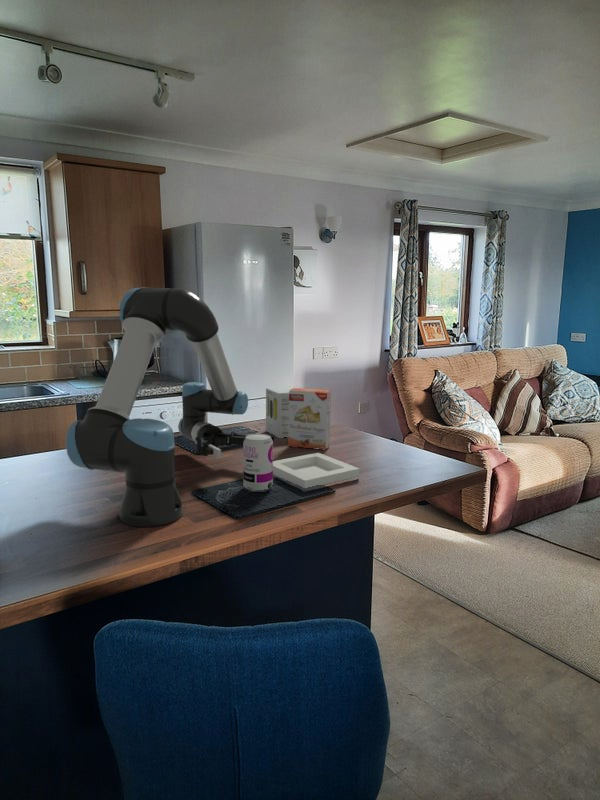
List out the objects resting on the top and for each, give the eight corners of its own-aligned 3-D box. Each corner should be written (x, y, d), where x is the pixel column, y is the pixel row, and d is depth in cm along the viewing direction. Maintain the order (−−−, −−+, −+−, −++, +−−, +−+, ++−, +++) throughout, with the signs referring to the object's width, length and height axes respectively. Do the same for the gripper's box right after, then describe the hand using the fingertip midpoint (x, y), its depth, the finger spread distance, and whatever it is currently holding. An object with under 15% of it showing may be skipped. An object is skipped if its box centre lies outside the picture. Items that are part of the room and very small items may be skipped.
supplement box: (264, 431, 226) (265, 387, 223) (294, 427, 232) (295, 385, 229) (279, 438, 214) (279, 393, 211) (309, 435, 220) (310, 390, 217)
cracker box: (287, 447, 203) (288, 389, 199) (292, 443, 208) (293, 387, 204) (325, 451, 199) (327, 392, 195) (329, 446, 204) (331, 389, 200)
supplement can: (274, 484, 164) (274, 433, 161) (270, 494, 156) (270, 441, 153) (246, 483, 165) (246, 432, 162) (241, 492, 156) (240, 440, 154)
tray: (304, 492, 157) (305, 480, 157) (266, 473, 173) (266, 462, 173) (359, 479, 169) (359, 468, 168) (317, 462, 185) (318, 452, 184)
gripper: (241, 441, 191) (276, 456, 174) (171, 452, 177) (202, 470, 160) (241, 419, 190) (276, 432, 173) (170, 429, 175) (201, 444, 158)
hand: (240, 450), depth 166 cm, fingers open, 13 cm apart
